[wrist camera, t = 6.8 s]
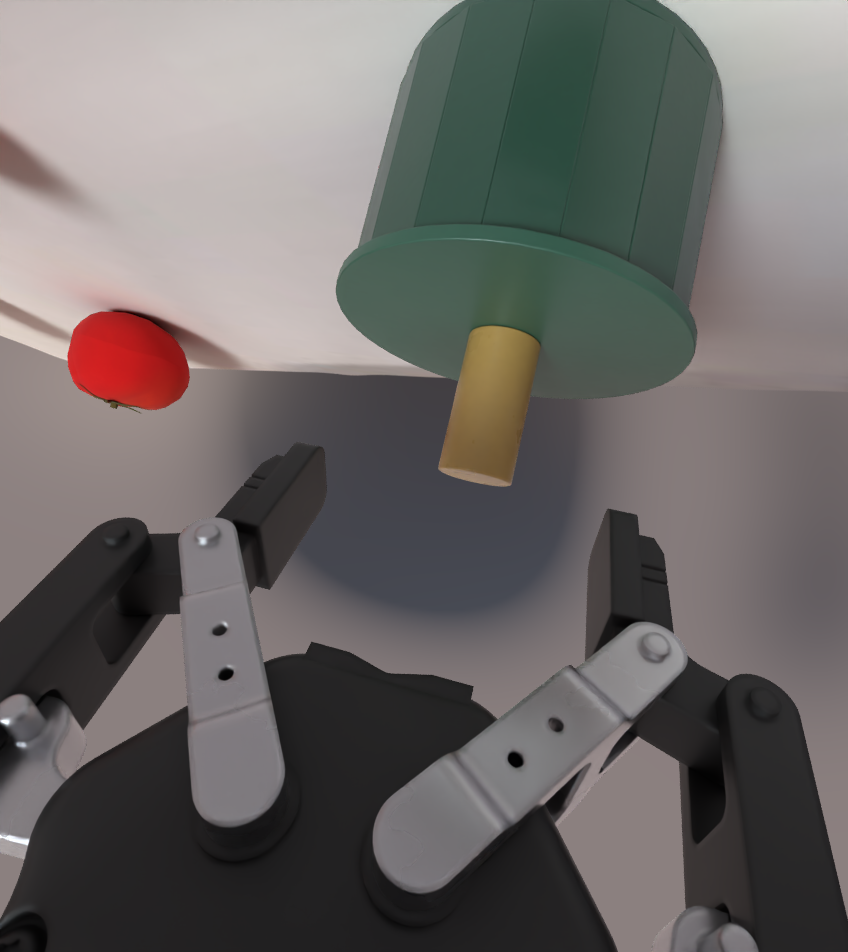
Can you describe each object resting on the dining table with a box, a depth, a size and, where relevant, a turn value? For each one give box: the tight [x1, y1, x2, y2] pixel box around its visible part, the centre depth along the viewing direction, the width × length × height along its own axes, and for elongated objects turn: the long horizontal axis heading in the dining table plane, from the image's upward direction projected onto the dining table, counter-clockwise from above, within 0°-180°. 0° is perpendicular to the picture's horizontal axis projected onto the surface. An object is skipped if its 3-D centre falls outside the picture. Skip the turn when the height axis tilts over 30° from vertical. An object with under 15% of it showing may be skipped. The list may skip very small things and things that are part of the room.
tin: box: [358, 0, 723, 309], centre depth 22 cm, size 12×13×8 cm
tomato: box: [68, 312, 190, 413], centre depth 63 cm, size 13×12×11 cm
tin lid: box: [336, 224, 697, 486], centre depth 21 cm, size 13×13×7 cm
